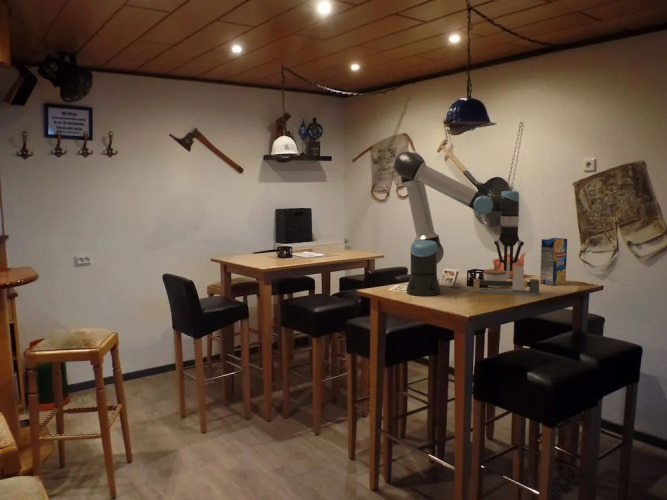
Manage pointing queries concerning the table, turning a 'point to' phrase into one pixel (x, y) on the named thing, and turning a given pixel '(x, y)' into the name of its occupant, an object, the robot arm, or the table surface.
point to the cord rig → (532, 284)
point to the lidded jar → (495, 275)
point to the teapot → (501, 265)
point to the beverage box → (553, 261)
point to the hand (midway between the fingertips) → (507, 278)
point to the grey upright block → (518, 278)
